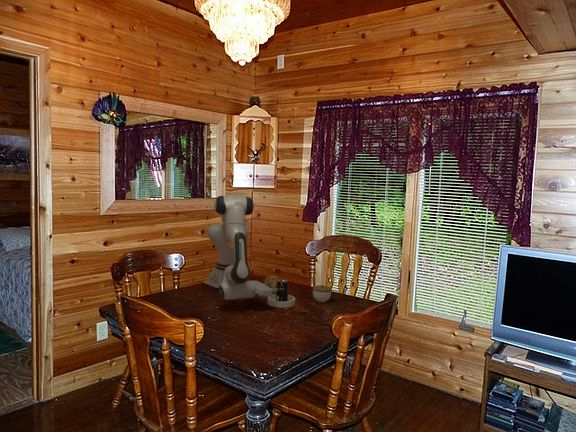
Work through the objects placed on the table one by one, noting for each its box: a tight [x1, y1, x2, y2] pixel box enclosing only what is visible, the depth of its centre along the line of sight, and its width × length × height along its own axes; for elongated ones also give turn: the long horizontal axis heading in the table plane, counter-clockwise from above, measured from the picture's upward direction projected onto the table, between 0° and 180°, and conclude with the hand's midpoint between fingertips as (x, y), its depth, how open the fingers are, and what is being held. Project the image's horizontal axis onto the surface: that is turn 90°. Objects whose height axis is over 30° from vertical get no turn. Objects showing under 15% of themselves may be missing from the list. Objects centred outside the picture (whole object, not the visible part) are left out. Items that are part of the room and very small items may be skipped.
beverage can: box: [275, 278, 289, 302], centre depth 231 cm, size 7×7×12 cm
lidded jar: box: [312, 284, 332, 303], centre depth 240 cm, size 11×11×9 cm
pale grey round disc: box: [266, 293, 296, 308], centre depth 232 cm, size 15×15×3 cm
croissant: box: [263, 274, 280, 289], centre depth 269 cm, size 21×10×8 cm, turn 7°
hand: (272, 287), depth 229 cm, fingers open, 8 cm apart
